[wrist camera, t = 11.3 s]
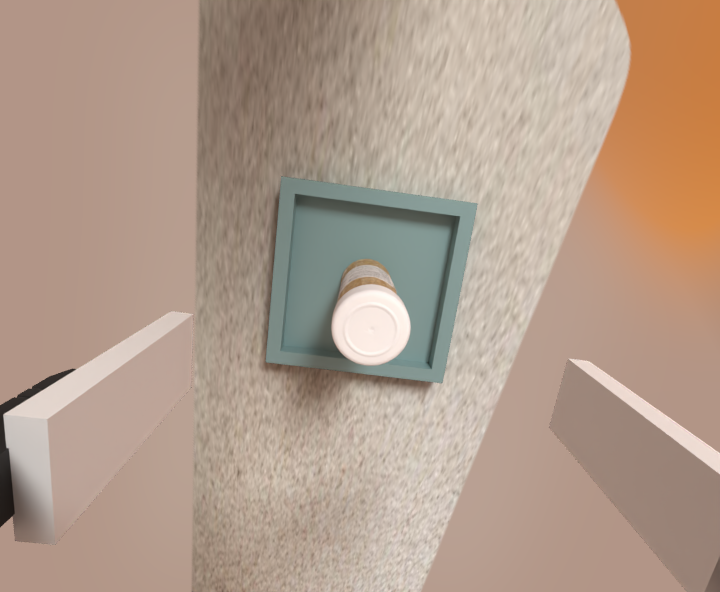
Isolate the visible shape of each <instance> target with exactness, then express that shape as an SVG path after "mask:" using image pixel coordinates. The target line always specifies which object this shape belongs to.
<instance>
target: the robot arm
mask: <svg viewBox="0 0 720 592" xmlns="http://www.w3.org/2000/svg"><path fill="white" fill-rule="evenodd" d="M193 321H194V314H190V313H182V312H173V311H170V312H169V313H167V314H166V315H164V316H162V317H161V318H160V319H158V320H156V321H154V322H153V323H151V324H149V325H148V326H146V327H145V328H143V329H141V330H140V331H138V332H136V333H135V334H133V335H132V336H130V337H128V338H127V339H125V340H124V341H122V342H120V343H119V344H117V345H115V346H114V347H112V348H110V349H109V350H107V351H106V352H104V353H102V354H101V355H99V356H97V357H96V358H94V359H93V360H91V361H89V362H88V363H86V364H85V365H83V366H81V367H80V368H78V369H70V370H67V371H64V372H61V373H58V374H56V375H53V376H50V377H48V378H46V379H45V380H43V381H41V382H39V383H38V384H36V385H34V386H33V387H32V389H27V390H26V391H24V392H22V393H21V394H19V395H18V396H17V398H15V397H14V398H12V399H10V400H9V401H7V402H5V403H4V404H2V405H0V527H1V526H2V525H3V524H4V523H5V522H6V521H7V520H9V519H10V518H11V517H12V516H13V524H14V534H15V541H21V542H32V543H42V544H52V545H56V544H57V542H58V541H59V540H60V539H61V538H62V537H63V535H64V534H65V533H66V532H67V531H68V530H69V528H70V527H71V526H72V525H73V524H74V523H75V521H76V520H77V519H78V518H79V517H80V516H81V515H82V513H83V512H84V511H85V510H86V509H87V507H89V505H90V504H91V503H92V502H93V501H94V500H95V498H96V497H97V496H98V495H99V494H100V493H101V491H102V490H103V489H104V488H105V487H106V486H107V484H108V483H109V482H110V481H111V480H112V479H113V477H114V476H115V475H116V474H117V473H118V472H119V471H120V469H121V468H122V467H123V466H124V465H125V464H126V463H127V461H128V460H129V459H130V458H131V457H132V456H133V454H134V453H135V452H136V451H137V450H138V449H139V447H140V446H141V445H142V444H143V443H144V442H145V440H146V439H147V438H148V437H149V436H150V435H151V433H152V432H153V431H154V430H155V429H156V428H157V427H158V425H159V424H160V423H161V422H162V421H163V420H164V419H165V417H166V416H167V415H168V414H169V413H170V411H172V409H173V408H174V407H175V406H176V405H177V404H178V402H179V401H180V400H181V399H182V398H183V397H184V395H185V394H186V393H187V392H188V391H189V390H190V389H191V385H192V353H193ZM549 428H550V429H551V430H552V432H553V433H554V434H555V435H556V436H557V438H558V439H559V440H560V441H561V442H562V444H563V445H564V446H565V447H566V448H567V450H568V451H569V452H570V453H571V454H572V455H573V457H574V458H575V459H576V460H577V461H578V463H579V464H580V465H581V466H582V467H583V469H584V470H585V471H586V472H587V473H588V475H589V476H590V477H591V478H592V479H593V481H594V482H595V483H596V484H597V485H598V486H599V488H600V489H601V490H602V491H603V492H604V494H605V495H606V496H607V497H608V498H609V499H610V501H611V502H612V503H613V504H614V505H615V507H616V508H617V509H618V510H619V511H620V513H621V514H622V515H623V516H624V517H625V519H626V520H627V521H628V522H629V523H630V525H631V526H632V527H633V528H634V529H635V531H636V532H637V533H638V534H639V535H640V537H641V538H642V539H643V540H644V541H645V542H646V544H647V545H648V546H649V547H650V548H651V550H652V551H653V552H654V553H655V554H656V555H657V557H658V558H659V559H660V560H661V562H662V563H663V564H664V565H665V566H666V567H667V569H668V570H669V571H670V572H671V574H672V575H673V576H674V577H675V578H676V579H677V581H678V582H679V583H680V584H681V585H682V587H683V588H684V589H685V590H686V591H687V592H720V453H719V452H717V451H716V450H714V449H713V448H712V447H710V446H709V445H707V444H706V443H704V442H703V441H702V440H700V439H699V438H697V437H696V436H695V435H693V434H692V433H690V432H689V431H687V430H686V429H684V428H683V427H682V426H680V425H679V424H677V423H676V422H675V421H673V420H672V419H670V418H669V417H667V416H666V415H665V414H663V413H662V412H660V411H659V410H658V409H656V408H655V407H653V406H652V405H650V404H649V403H648V402H646V401H645V400H643V399H642V398H640V397H639V396H638V395H636V394H635V393H633V392H632V391H630V390H629V389H627V388H626V387H625V386H623V385H622V384H621V383H619V382H618V381H616V380H615V379H613V378H612V377H611V376H609V375H608V374H606V373H605V372H603V371H602V370H601V369H599V368H598V367H596V366H595V365H593V364H592V363H591V362H589V361H583V360H575V359H568V360H567V363H566V367H565V371H564V375H563V378H562V382H561V385H560V389H559V393H558V396H557V400H556V404H555V407H554V412H553V415H552V419H551V422H550V426H549Z"/></svg>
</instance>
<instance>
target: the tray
mask: <svg viewBox="0 0 720 592" xmlns="http://www.w3.org/2000/svg"><path fill="white" fill-rule="evenodd" d="M477 204H478V203H470V202H463V201H456V200H449V199H442V198H434V197H427V196H420V195H413V194H405V193H398V192H391V191H384V190H377V189H369V188H362V187H355V186H348V185H341V184H333V183H326V182H319V181H312V180H305V179H297V178H290V177H283V176H281V186H280V198H279V210H278V222H277V233H276V245H275V257H274V269H273V281H272V292H271V304H270V316H269V328H268V340H267V351H266V362H268V363H276V364H285V365H293V366H301V367H310V368H318V369H327V370H335V371H343V372H352V373H360V374H369V375H377V376H385V377H394V378H402V379H411V380H419V381H427V382H436V383H443V378H444V373H445V368H446V363H447V357H448V352H449V347H450V342H451V337H452V332H453V327H454V322H455V317H456V312H457V306H458V301H459V296H460V291H461V286H462V281H463V276H464V271H465V266H466V261H467V255H468V250H469V245H470V240H471V235H472V230H473V225H474V220H475V215H476V210H477ZM360 259H372V260H375V261H378V262H379V263H381V264H382V265H383V266H384V267H385V268H386V269H387V271H388V272H389V275H390V277H391V280H392V282H393V284H394V287H395V289H396V292H397V295H398V296H399V297H400V299H401V300H402V302H403V303H404V305H405V307H406V310H407V312H408V315H409V318H410V326H411V329H410V336H409V340H408V342H407V344H406V346H405V348H404V349H403V350H402V352H401V353H400V354H399V355H398V356H396V357H395V358H394V359H392V360H391V361H389V362H387V363H384V364H381V365H375V366H366V365H361V364H357V363H355V362H353V361H351V360H349V359H348V358H346V357H345V356H344V355H343V354H342V353H341V352H340V351H339V350H338V348H337V347H336V345H335V343H334V340H333V337H332V331H331V324H332V316H333V312H334V309H335V306H336V304H337V301H338V296H339V291H340V286H341V278H342V275H343V272H344V271H345V269H346V268H347V267H348V266H349V265H350V264H351V263H353V262H355V261H357V260H360Z"/></svg>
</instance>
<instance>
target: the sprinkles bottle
mask: <svg viewBox="0 0 720 592" xmlns="http://www.w3.org/2000/svg"><path fill="white" fill-rule="evenodd" d="M410 329H411V326H410V318H409V315H408V312H407V310H406V307H405V305H404V303H403V302H402V300H401V299H400V297H399V296H398V295H397V292H396V289H395V287H394V284H393V282H392V280H391V277H390V275H389V272H388V271H387V269H386V268H385V267H384V266H383V265H382V264H381V263H379V262H378V261H375V260H372V259H360V260H357V261H355V262H353V263H351V264H350V265H349V266H348V267H347V268H346V269H345V271H344V272H343V275H342V278H341V286H340V291H339V296H338V301H337V304H336V306H335V309H334V312H333V316H332V324H331V331H332V337H333V340H334V343H335V345H336V347H337V348H338V350H339V351H340V352H341V353H342V354H343V355H344V356H345V357H346V358H348V359H349V360H351V361H353V362H355V363H357V364H361V365H366V366H375V365H381V364H384V363H387V362H389V361H391V360H392V359H394V358H395V357H396V356H398V355H399V354H400V353H401V352H402V350H403V349H404V348H405V346H406V344H407V342H408V340H409V336H410Z"/></svg>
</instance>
